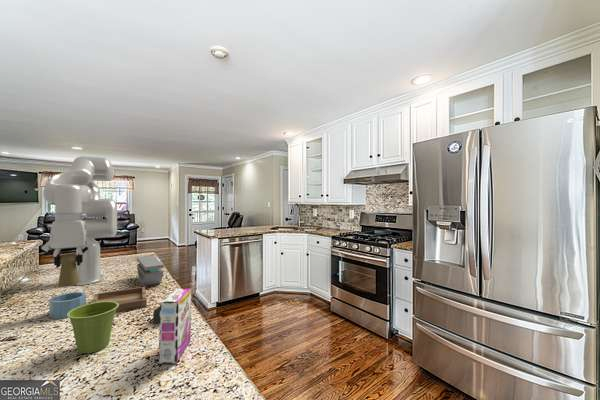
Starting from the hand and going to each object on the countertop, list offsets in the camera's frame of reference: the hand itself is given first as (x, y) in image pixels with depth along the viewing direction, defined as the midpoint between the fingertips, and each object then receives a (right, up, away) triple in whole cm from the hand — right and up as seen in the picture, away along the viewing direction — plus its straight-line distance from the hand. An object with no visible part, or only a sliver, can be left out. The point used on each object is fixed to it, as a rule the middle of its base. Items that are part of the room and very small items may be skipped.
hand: (68, 265), depth 99 cm
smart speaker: (+39, -19, -4) cm, 43 cm away
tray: (+14, -18, +8) cm, 24 cm away
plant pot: (+27, -18, -22) cm, 40 cm away
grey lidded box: (+10, -18, +36) cm, 41 cm away
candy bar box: (+52, -19, -24) cm, 60 cm away
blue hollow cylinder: (0, -18, 0) cm, 18 cm away
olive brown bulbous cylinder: (0, -7, 0) cm, 7 cm away
